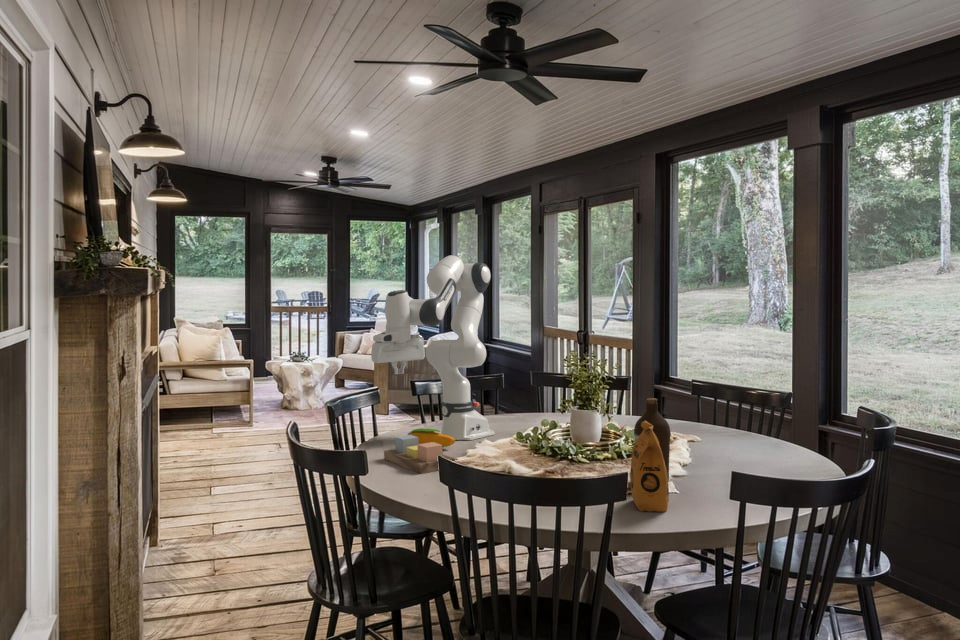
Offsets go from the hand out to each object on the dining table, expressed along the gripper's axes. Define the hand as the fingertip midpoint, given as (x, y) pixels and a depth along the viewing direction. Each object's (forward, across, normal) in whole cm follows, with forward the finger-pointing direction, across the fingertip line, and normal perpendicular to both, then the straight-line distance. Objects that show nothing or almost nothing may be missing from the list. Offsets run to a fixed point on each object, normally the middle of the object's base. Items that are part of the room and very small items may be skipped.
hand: (399, 373), depth 257 cm
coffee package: (+30, -23, +97) cm, 104 cm away
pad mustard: (+29, +2, +16) cm, 33 cm away
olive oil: (+29, -42, +81) cm, 96 cm away
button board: (+29, +2, +16) cm, 33 cm away
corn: (+29, -14, -1) cm, 32 cm away
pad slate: (+26, +2, +8) cm, 28 cm away
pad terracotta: (+26, +2, +24) cm, 36 cm away
